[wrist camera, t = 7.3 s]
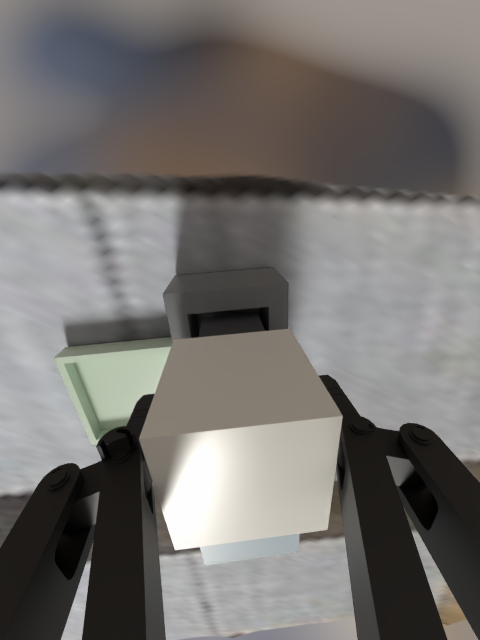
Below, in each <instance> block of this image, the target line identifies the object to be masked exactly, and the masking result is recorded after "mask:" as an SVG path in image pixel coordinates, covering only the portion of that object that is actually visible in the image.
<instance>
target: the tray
mask: <svg viewBox="0 0 480 640" xmlns="http://www.w3.org/2000/svg"><path fill="white" fill-rule="evenodd" d="M171 346H172V338H171V337H165V338H155V339H145V340H134V341H124V342H114V343H103V344H93V345H83V346H72V347H66V348H64V349H63V350H62V351H61V352H60V353H59V354H58V355H57V356H55V357H54V360H55V363H56V365H57V367H58V369H59V372H60V374H61V376H62V379H63V381H64V383H65V385H66V388H67V390H68V392H69V394H70V397H71V399H72V401H73V404H74V406H75V408H76V410H77V413H78V415H79V417H80V420H81V422H82V424H83V426H84V429H85V431H86V433H87V435H88V438H89V440H90V442H91V445H95V444H98V441H99V440H100V439H101V438H102V436H103V435H104V434H106V433H107V432H109V431H110V430H112V429H114V428H117V427H121V426H127V423H128V421H129V419H130V416H131V414H132V412H133V409H134V407H135V405H136V402H137V401H138V400H139V399H140V398H141V397H142V396H143V395H147V394H155V392H156V389H157V386H158V383H159V380H160V377H161V374H162V372H163V369H164V366H165V363H166V360H167V357H168V354H169V352H170V349H171Z"/></svg>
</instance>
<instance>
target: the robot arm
mask: <svg viewBox="0 0 480 640" xmlns="http://www.w3.org/2000/svg"><path fill="white" fill-rule="evenodd" d="M319 377H320V379H321V381H322V382H323V384H324V386H325V387H326V389H327V391H328V392H329V394H330V396H331V397H332V399H333V401H334V402H335V404H336V406H337V407H338V409H339V410H340V412H341V414H342V415H343V418H342V426H341V433H340V440H339V448H338V455H337V465H336V472H335V481H337V480H338V487H339V495H340V503H341V511H342V519H343V527H344V535H345V543H346V550H347V558H348V566H349V574H350V582H351V590H352V598H353V606H354V614H355V621H356V630H357V637H358V640H447V637H446V634H445V631H444V628H443V625H442V622H441V619H440V616H439V613H438V610H437V607H436V604H435V601H434V598H433V595H432V592H431V589H430V586H429V583H428V580H427V577H426V574H425V571H424V568H423V565H422V562H421V559H420V556H419V553H418V550H417V547H416V544H415V541H414V538H413V535H412V532H411V529H410V526H409V523H408V520H407V517H406V514H405V511H404V508H405V510H406V512H407V513H408V515H409V517H410V519H411V521H412V522H413V524H414V526H415V528H416V529H417V531H418V533H419V535H420V537H421V538H422V540H423V542H424V544H425V545H426V547H427V549H428V551H429V553H430V554H431V556H432V558H433V560H434V561H435V563H436V565H437V567H438V569H439V570H440V572H441V574H442V576H443V577H444V579H445V581H446V583H447V585H448V586H449V588H450V590H451V592H452V593H453V595H454V597H455V599H456V601H457V602H458V604H459V606H460V608H461V609H462V611H463V613H464V615H465V617H466V618H467V620H468V622H469V624H470V625H471V627H472V629H473V631H474V632H475V634H476V636H477V638H478V640H480V483H479V482H478V480H477V479H476V478H475V477H474V476H473V475H472V474H471V473H470V471H469V470H468V469H467V468H466V467H465V466H464V465H463V464H462V462H461V461H460V460H459V459H458V458H457V457H456V456H455V455H454V453H453V452H452V451H451V450H450V449H449V448H448V447H447V446H446V444H445V443H444V442H443V441H442V440H441V439H440V438H439V437H438V436H437V435H436V434H435V433H434V432H433V431H432V430H430V429H428V428H426V427H425V426H422V425H419V424H415V423H407V424H403V425H402V426H401V427H400V430H399V431H394V430H387V429H381V428H377V427H376V426H375V425H374V424H373V423H372V422H371V421H370V420H368V419H366V418H364V417H361V416H360V415H359V414H358V412H357V411H356V409H355V408H354V406H353V405H352V403H351V402H350V401H349V399H348V398H347V396H346V395H345V394H344V392H343V390H342V389H341V388H340V386H339V385H338V383H337V382H336V380H334V379H333V378H331V377H330V376H329V375H321V376H319ZM153 397H154V394H147V395H143V396H142V397H141V398H140V399H139V400H138V401H137V402H136V405H135V407H134V409H133V412H132V414H131V416H130V419H129V421H128V423H127V426H121V427H117V428H114V429H112V430H110V431H109V432H107V433H106V434H104V435H103V436H102V438H101V439H100V440H99V441H98V444H97V446H96V447H97V450H98V452H99V454H100V456H101V459H102V461H100V462H98V463H95V464H93V465H90V466H88V467H85V468H83V469H80V468H79V466H78V465H76V464H74V463H67V464H64V465H61V466H59V467H57V468H55V469H53V470H52V471H50V472H49V473H48V474H47V475H46V476H45V477H44V478H43V479H42V480H41V482H40V483H39V484H38V486H37V487H36V489H35V491H34V493H33V494H32V496H31V498H30V499H29V501H28V503H27V504H26V506H25V508H24V509H23V511H22V513H21V514H20V516H19V518H18V519H17V521H16V523H15V524H14V526H13V528H12V529H11V531H10V533H9V534H8V536H7V538H6V539H5V541H4V543H3V544H2V546H1V548H0V640H61V637H62V634H63V631H64V628H65V625H66V622H67V619H68V616H69V613H70V610H71V607H72V604H73V601H74V598H75V594H76V591H77V588H78V585H79V582H80V579H81V576H82V573H83V570H84V567H85V564H86V561H87V558H88V555H89V552H90V549H91V546H92V543H93V551H92V559H91V568H90V576H89V585H88V593H87V602H86V610H85V619H84V627H83V636H82V640H166V637H165V624H164V612H163V599H162V587H161V575H160V562H159V550H158V537H157V525H156V512H155V500H154V490H153V487H152V478H151V475H150V471H149V468H148V465H147V462H146V459H145V456H144V453H143V450H142V447H141V444H140V441H139V437H140V434H141V432H142V429H143V426H144V423H145V420H146V417H147V414H148V412H149V409H150V406H151V403H152V400H153ZM403 506H404V508H403ZM93 540H94V542H93Z"/></svg>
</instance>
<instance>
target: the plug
mask: <svg viewBox="0 0 480 640" xmlns="http://www.w3.org/2000/svg"><path fill="white" fill-rule="evenodd" d="M342 418H343V415H342V414H341V412H340V410H339V409H338V407H337V406H336V404H335V402H334V401H333V399H332V397H331V396H330V394H329V392H328V391H327V389H326V387H325V386H324V384H323V382H322V381H321V379H320V377H319V376H318V374H317V373H316V371H315V369H314V368H313V366H312V364H311V363H310V361H309V359H308V358H307V356H306V354H305V353H304V351H303V349H302V348H301V346H300V345H299V343H298V341H297V340H296V338H295V336H294V335H293V333H292V331H291V330H290V329H281V330H271V331H265V330H264V327H263V325H262V322H261V320H260V317H259V314H258V312H256V313H245V314H234V315H223V316H212V317H202V320H201V327H200V333H199V337H198V338H187V339H177V340H173V343H172V346H171V349H170V352H169V354H168V357H167V360H166V363H165V366H164V369H163V372H162V374H161V377H160V380H159V383H158V386H157V389H156V392H155V394H154V397H153V400H152V403H151V406H150V409H149V412H148V414H147V417H146V420H145V423H144V426H143V429H142V432H141V434H140V437H139V441H140V444H141V447H142V450H143V453H144V456H145V459H146V462H147V465H148V468H149V471H150V475H151V478H152V481H153V484H154V487H155V490H156V493H157V496H158V499H159V502H160V505H161V508H162V511H163V514H164V517H165V521H166V524H167V527H168V530H169V533H170V536H171V539H172V542H173V545H174V548H175V550H180V549H188V548H195V547H203V546H210V545H218V544H225V543H233V542H240V541H248V540H255V539H262V538H270V537H277V536H285V535H292V534H300V533H307V532H315V531H322V530H327V528H328V521H329V514H330V506H331V499H332V492H333V484H334V477H335V470H336V462H337V455H338V448H339V440H340V433H341V426H342Z"/></svg>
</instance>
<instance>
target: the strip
mask: <svg viewBox="0 0 480 640" xmlns="http://www.w3.org/2000/svg"><path fill="white" fill-rule="evenodd" d="M163 299H164V303H165V308H166V313H167V318H168V323H169V328H170V333H171V338H172V343H173V340H177V339H187V338H198V337H199V333H200V327H201V320H202V317H212V316H223V315H234V314H245V313H256V312H258V314H259V317H260V320H261V322H262V325H263V327H264V330H265V331H271V330H281V329H288V282H287V281H286V280H285V279H284V278H283V277H282V276H281V275H280V274H279V273H278V272H277V271H276V270H275V269H274V268H273V267H268V268H257V269H245V270H233V271H221V272H210V273H198V274H186V275H175V276H174V278H173V279H172V281H171V282H170V284H169V285H168V287H167V288H166V290H165V291H164V293H163ZM200 549H201V553H202V557H203V561H204V565H211V564H218V563H225V562H232V561H239V560H246V559H253V558H260V557H267V556H274V555H281V554H288V553H296V552H299V534H292V535H285V536H277V537H270V538H262V539H255V540H248V541H240V542H233V543H225V544H218V545H210V546H203V547H200Z"/></svg>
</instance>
